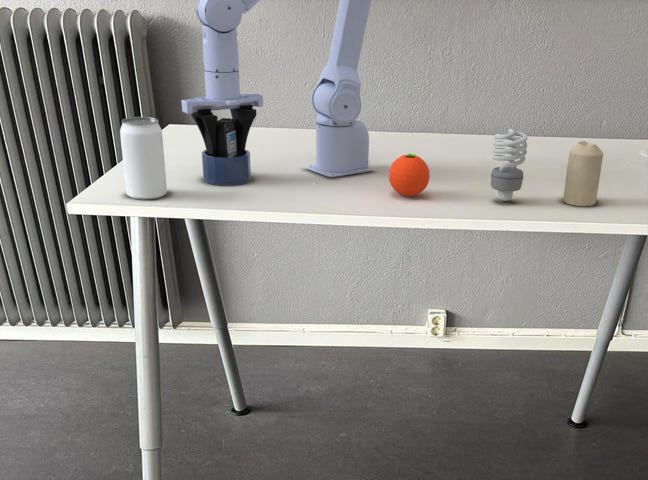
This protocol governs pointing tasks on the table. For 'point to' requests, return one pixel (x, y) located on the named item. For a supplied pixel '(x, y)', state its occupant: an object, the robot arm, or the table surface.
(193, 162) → the table surface
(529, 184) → the table surface
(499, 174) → the light bulb
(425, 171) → the clementine
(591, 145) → the candle
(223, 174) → the cup
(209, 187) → the table surface
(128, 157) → the can
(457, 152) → the table surface
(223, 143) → the ink cartridge
